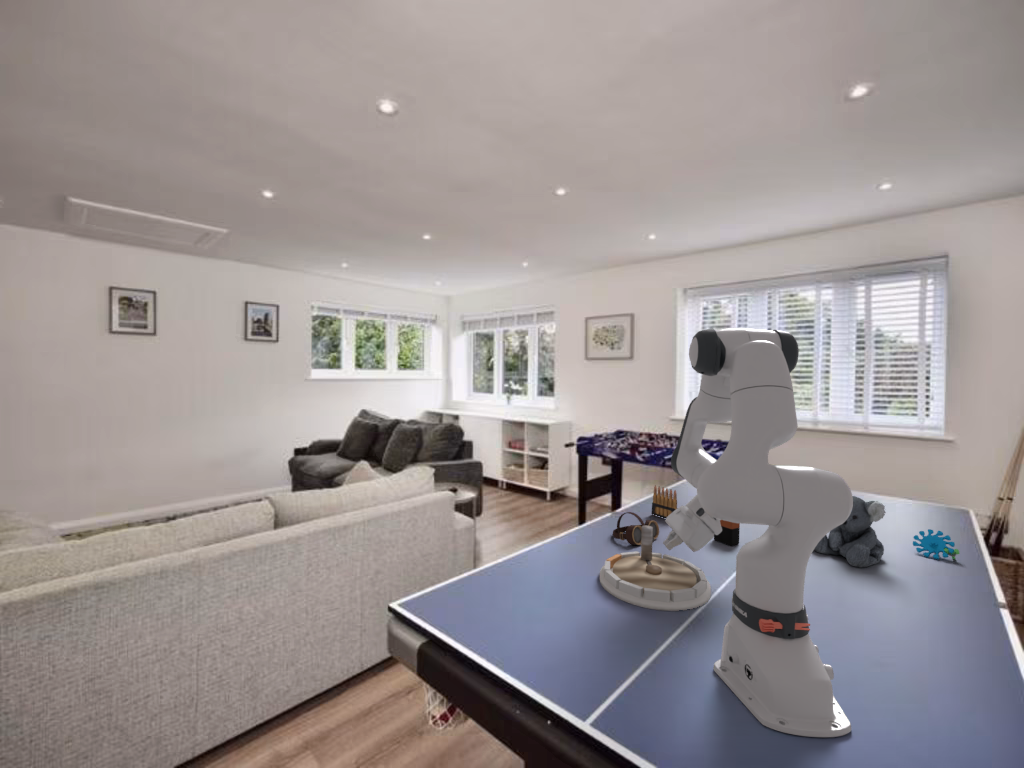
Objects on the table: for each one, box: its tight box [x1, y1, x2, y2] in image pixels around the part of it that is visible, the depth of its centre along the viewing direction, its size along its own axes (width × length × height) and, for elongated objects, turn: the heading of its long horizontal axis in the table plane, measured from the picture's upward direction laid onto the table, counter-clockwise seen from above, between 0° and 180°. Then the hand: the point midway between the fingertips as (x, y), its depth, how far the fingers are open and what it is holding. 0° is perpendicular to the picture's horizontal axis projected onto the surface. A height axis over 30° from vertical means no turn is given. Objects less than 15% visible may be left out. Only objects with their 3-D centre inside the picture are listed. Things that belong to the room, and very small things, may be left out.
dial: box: [613, 525, 696, 593], centre depth 124 cm, size 21×21×10 cm
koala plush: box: [813, 495, 887, 569], centre depth 146 cm, size 17×18×20 cm
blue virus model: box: [912, 529, 960, 560], centre depth 147 cm, size 11×6×10 cm
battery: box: [713, 520, 741, 547], centre depth 156 cm, size 4×7×10 cm, turn 29°
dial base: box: [599, 550, 712, 612], centre depth 124 cm, size 28×28×4 cm
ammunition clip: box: [651, 485, 678, 518], centre depth 181 cm, size 11×2×12 cm, turn 37°
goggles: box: [612, 511, 660, 546], centre depth 159 cm, size 15×13×10 cm
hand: (665, 546), depth 132 cm, fingers closed
